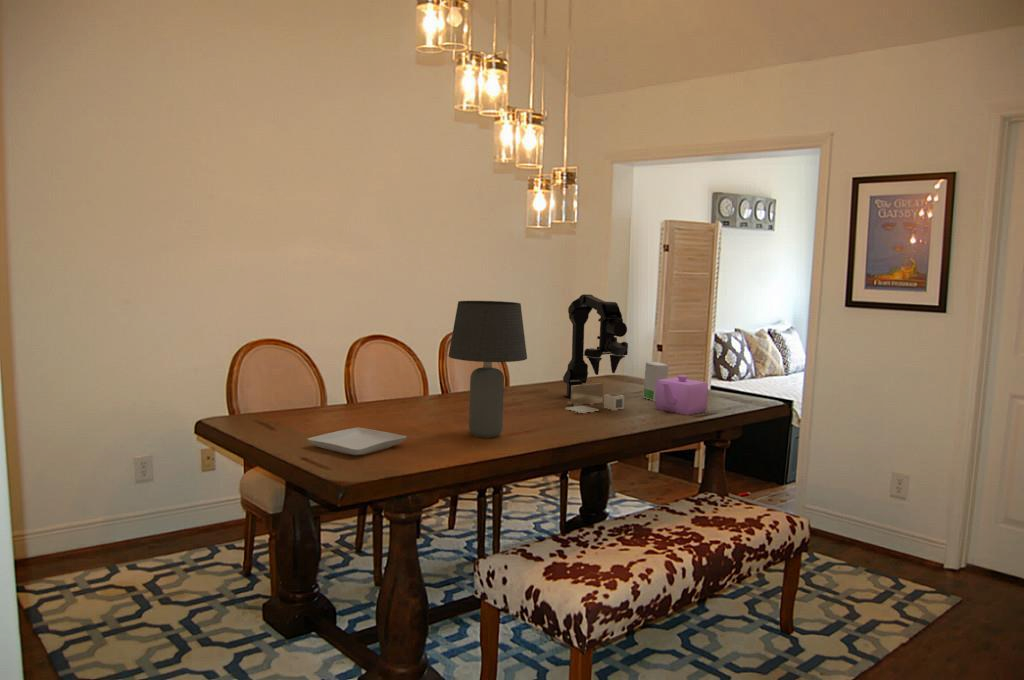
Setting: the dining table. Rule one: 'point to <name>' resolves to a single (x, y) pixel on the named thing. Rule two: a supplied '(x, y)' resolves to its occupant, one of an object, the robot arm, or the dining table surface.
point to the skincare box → (653, 378)
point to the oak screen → (586, 394)
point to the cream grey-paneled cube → (614, 401)
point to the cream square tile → (582, 409)
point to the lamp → (487, 356)
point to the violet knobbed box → (681, 395)
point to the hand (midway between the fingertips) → (605, 373)
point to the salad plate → (357, 441)
